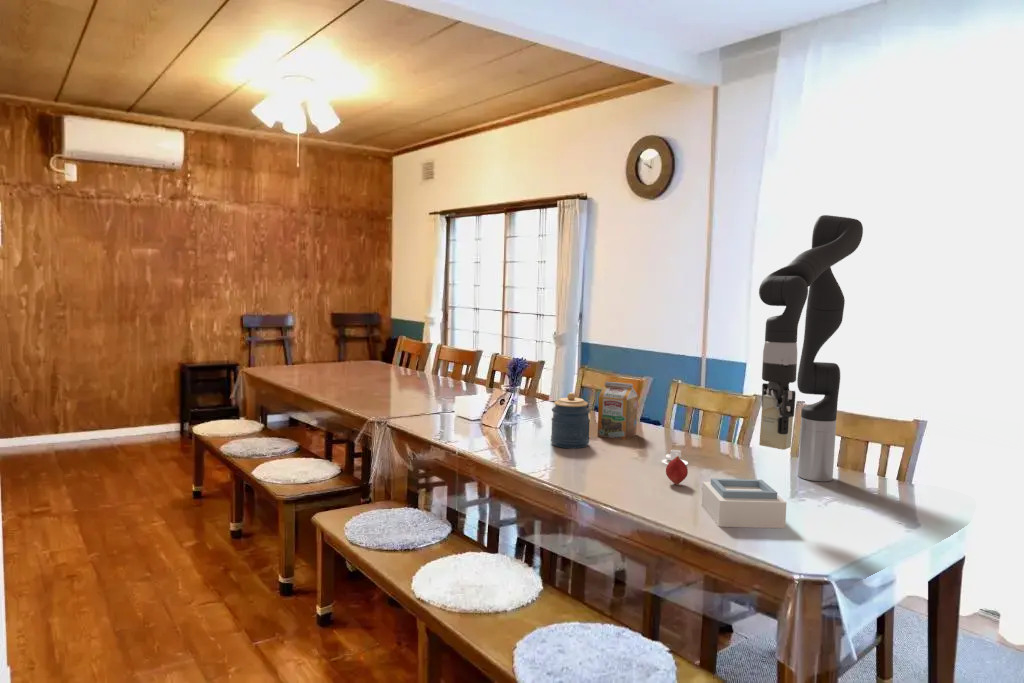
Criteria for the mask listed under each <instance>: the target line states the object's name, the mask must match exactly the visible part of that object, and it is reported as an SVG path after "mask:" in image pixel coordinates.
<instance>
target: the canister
mask: <svg viewBox="0 0 1024 683" xmlns="http://www.w3.org/2000/svg"><path fill="white" fill-rule="evenodd" d="M553 403H554V405H555V406H554V407H552V408H551V411H552V417H551V434H550V435H551V436H550V441H551V444H552V445H553V446H554V447H558V448H561V449H562V448H563V449H582V448H586V447H588V446H589V445H590V438H591V437H590V422H591V419H590V417H589V415H590V413H591V410H590V408H588V405H589V402H588V401H586V400H584V399H583V398H581V397H576V395H575V393H574V392H569V393H567V397H560V398H558V399H557V400H555V401H554V402H553Z"/></svg>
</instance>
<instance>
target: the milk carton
mask: <svg viewBox="0 0 1024 683" xmlns="http://www.w3.org/2000/svg"><path fill="white" fill-rule="evenodd" d="M638 396H639V395H638V392H636V390H635V389H634V385H633V383H626V382H625V383H623V382H612V381H605V382H604V386H603V387H602V389H601V391H600V393H599V396H598V409H597V410H598V412H597V436H598V437H604V438H610V439H616V438H617V440H623V439H624V441H625V440H628V439H630V438H632V437H634V436H635V435H637V425H638V423H637V421H638V419H637V418H638V398H639V397H638ZM627 438H628V439H627Z"/></svg>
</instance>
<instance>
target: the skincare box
mask: <svg viewBox="0 0 1024 683" xmlns="http://www.w3.org/2000/svg"><path fill="white" fill-rule="evenodd" d="M788 401H789V400H788ZM780 404H782V402H781V403H780ZM781 411H782V409H781ZM778 418H779V417H778V412H777V409H775V407H774V401H773V398H772V396H771V395H763V403H762V402H761V419H760V432H759V444H758V445H759V446H762V447H767V448H773V449H776V450H777V449H778V450H782V451H783V450H787V449H789V448H791V447H792V435H793V422H794V417H790V418H789V424H788V434H779V433H778V432H777V429H778Z"/></svg>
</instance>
